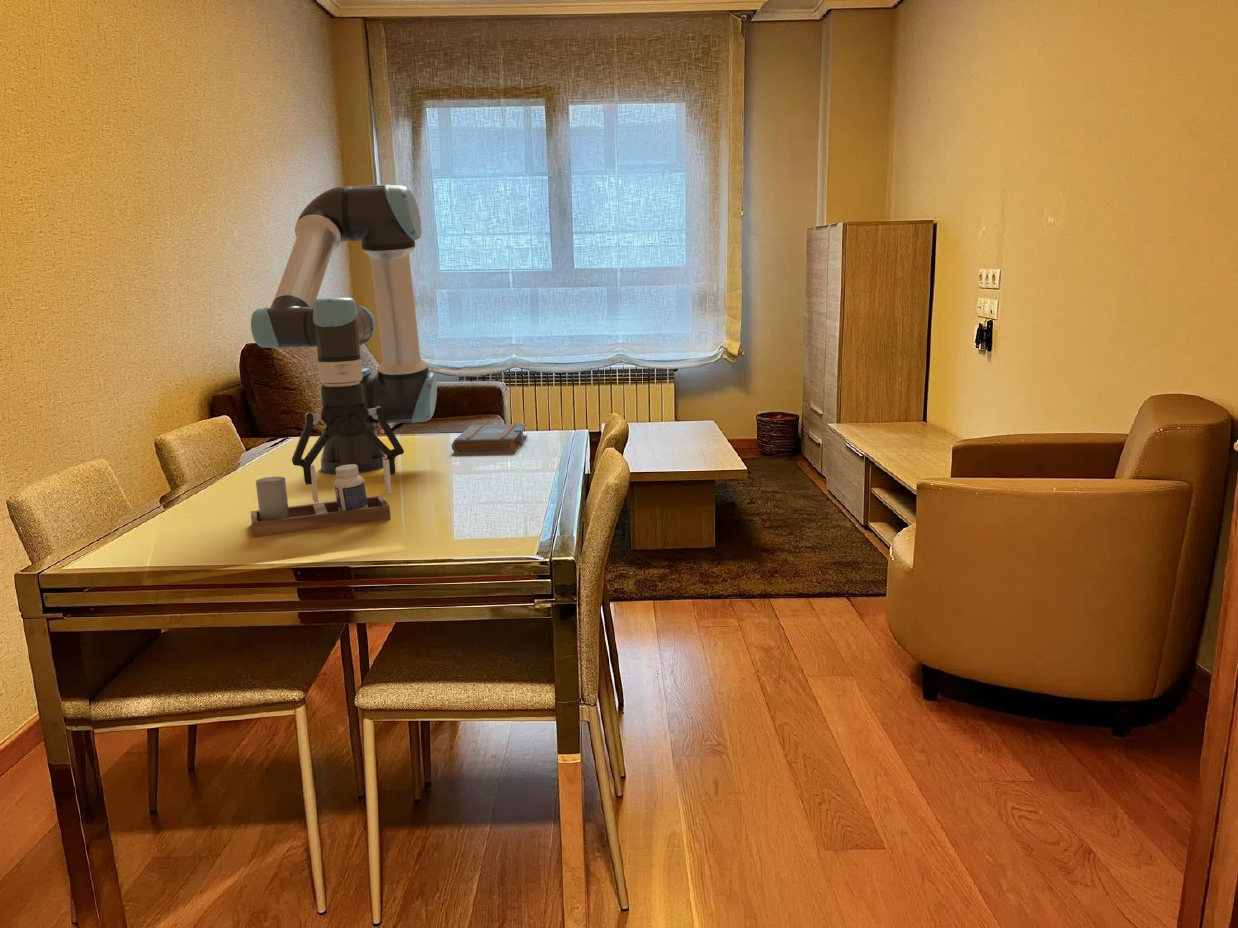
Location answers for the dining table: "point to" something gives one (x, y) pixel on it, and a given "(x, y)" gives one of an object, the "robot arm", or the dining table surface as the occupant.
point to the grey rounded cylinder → (272, 498)
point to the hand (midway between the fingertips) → (352, 496)
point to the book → (490, 439)
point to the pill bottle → (350, 488)
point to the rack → (320, 517)
